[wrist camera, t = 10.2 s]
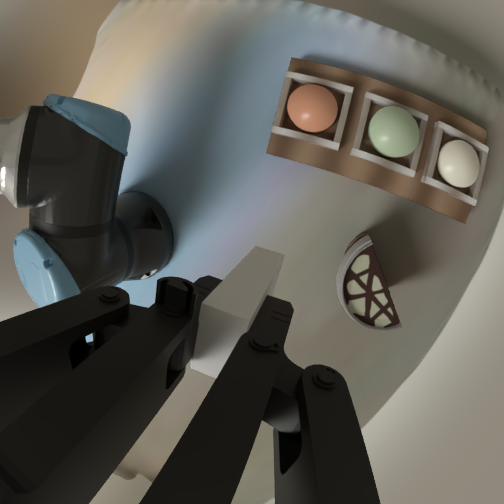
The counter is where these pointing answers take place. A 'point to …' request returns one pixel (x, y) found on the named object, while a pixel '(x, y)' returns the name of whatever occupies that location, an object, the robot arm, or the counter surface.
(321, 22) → the counter surface
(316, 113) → the terracotta button
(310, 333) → the counter surface
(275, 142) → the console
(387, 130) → the sage button
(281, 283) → the counter surface
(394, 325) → the food container
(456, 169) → the cream button
